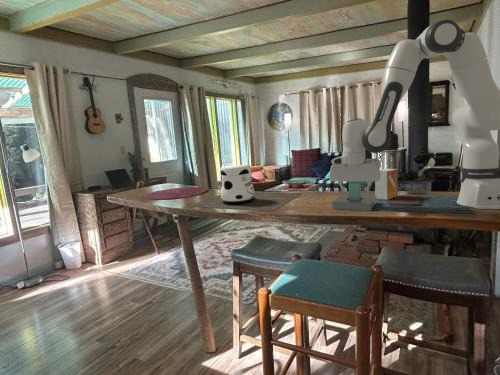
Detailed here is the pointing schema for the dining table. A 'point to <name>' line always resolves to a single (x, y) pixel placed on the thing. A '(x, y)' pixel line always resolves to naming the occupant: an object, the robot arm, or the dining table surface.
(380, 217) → the dining table surface
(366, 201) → the socket
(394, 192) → the small box
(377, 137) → the robot arm
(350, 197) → the peg
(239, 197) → the milk container
